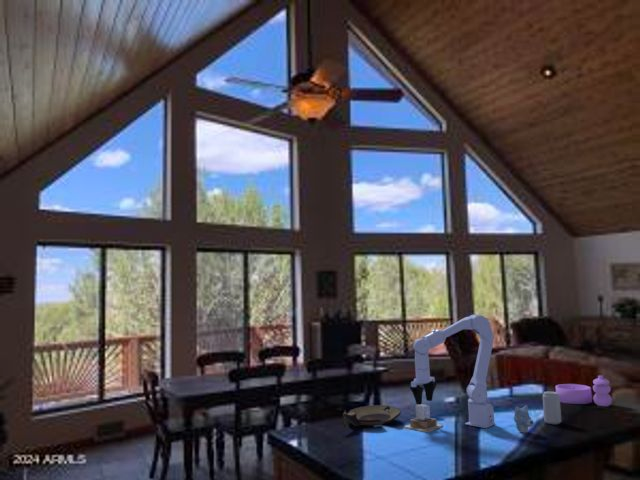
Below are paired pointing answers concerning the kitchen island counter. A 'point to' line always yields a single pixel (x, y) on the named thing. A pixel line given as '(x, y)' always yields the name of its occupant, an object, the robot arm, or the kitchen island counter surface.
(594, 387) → the container set
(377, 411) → the olive shallow bowl
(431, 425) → the collar
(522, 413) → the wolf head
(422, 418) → the peg
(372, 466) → the kitchen island counter surface
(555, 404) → the beverage can
